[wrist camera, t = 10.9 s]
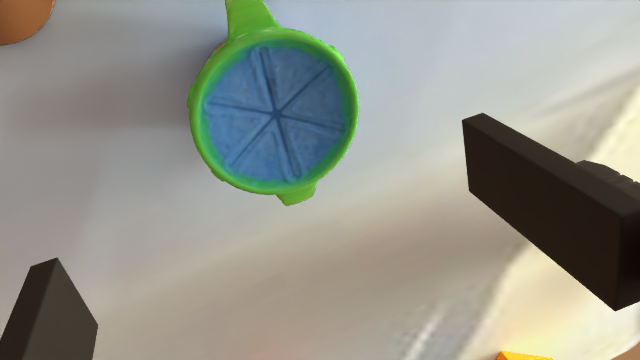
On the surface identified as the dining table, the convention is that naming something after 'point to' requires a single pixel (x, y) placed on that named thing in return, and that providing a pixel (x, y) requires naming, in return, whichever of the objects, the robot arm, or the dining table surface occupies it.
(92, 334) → the robot arm
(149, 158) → the dining table surface
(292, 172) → the snack cup
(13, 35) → the cork coaster
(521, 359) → the orange juice
